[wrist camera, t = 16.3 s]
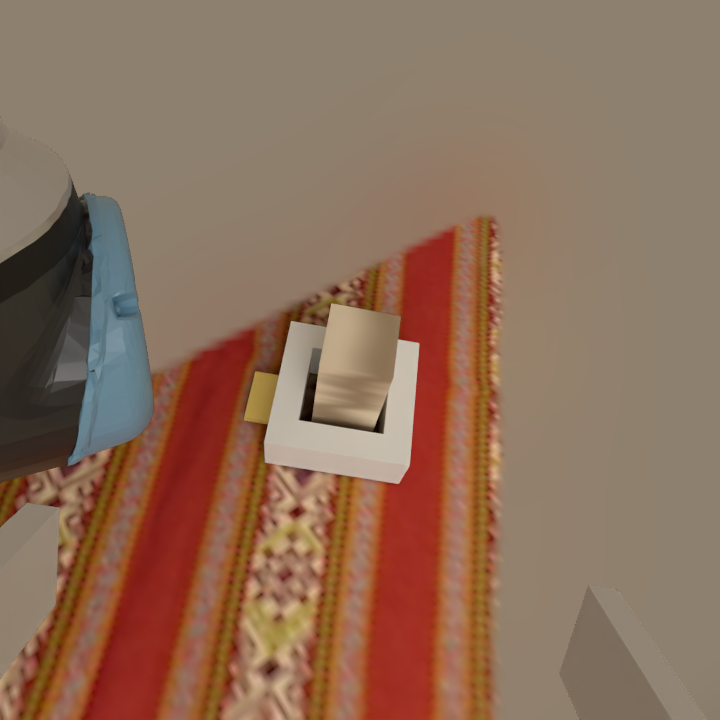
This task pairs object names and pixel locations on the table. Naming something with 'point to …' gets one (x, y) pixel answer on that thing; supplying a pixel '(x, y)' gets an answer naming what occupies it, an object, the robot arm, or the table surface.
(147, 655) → the table surface
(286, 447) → the socket block
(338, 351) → the beech peg
